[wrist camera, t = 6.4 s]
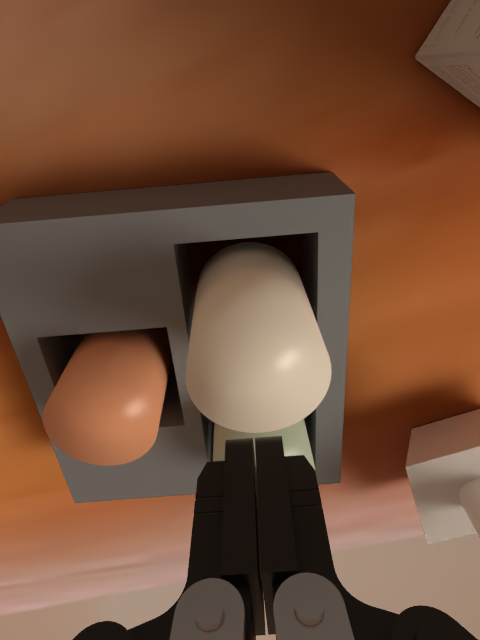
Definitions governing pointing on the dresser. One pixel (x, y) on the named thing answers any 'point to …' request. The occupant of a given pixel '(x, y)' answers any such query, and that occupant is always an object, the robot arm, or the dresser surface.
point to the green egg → (291, 436)
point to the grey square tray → (166, 300)
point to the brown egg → (110, 396)
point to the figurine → (446, 476)
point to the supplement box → (456, 48)
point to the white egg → (255, 342)
